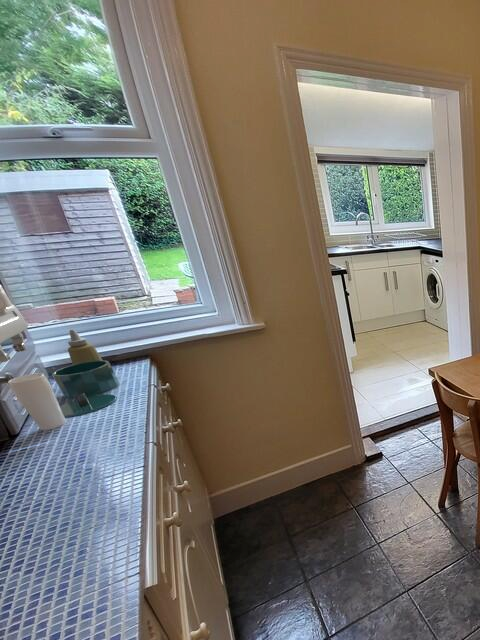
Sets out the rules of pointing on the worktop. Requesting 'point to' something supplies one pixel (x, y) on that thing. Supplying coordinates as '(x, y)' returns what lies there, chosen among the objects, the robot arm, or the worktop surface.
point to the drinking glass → (38, 400)
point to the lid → (86, 404)
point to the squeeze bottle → (81, 349)
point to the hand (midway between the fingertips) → (13, 355)
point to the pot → (86, 378)
